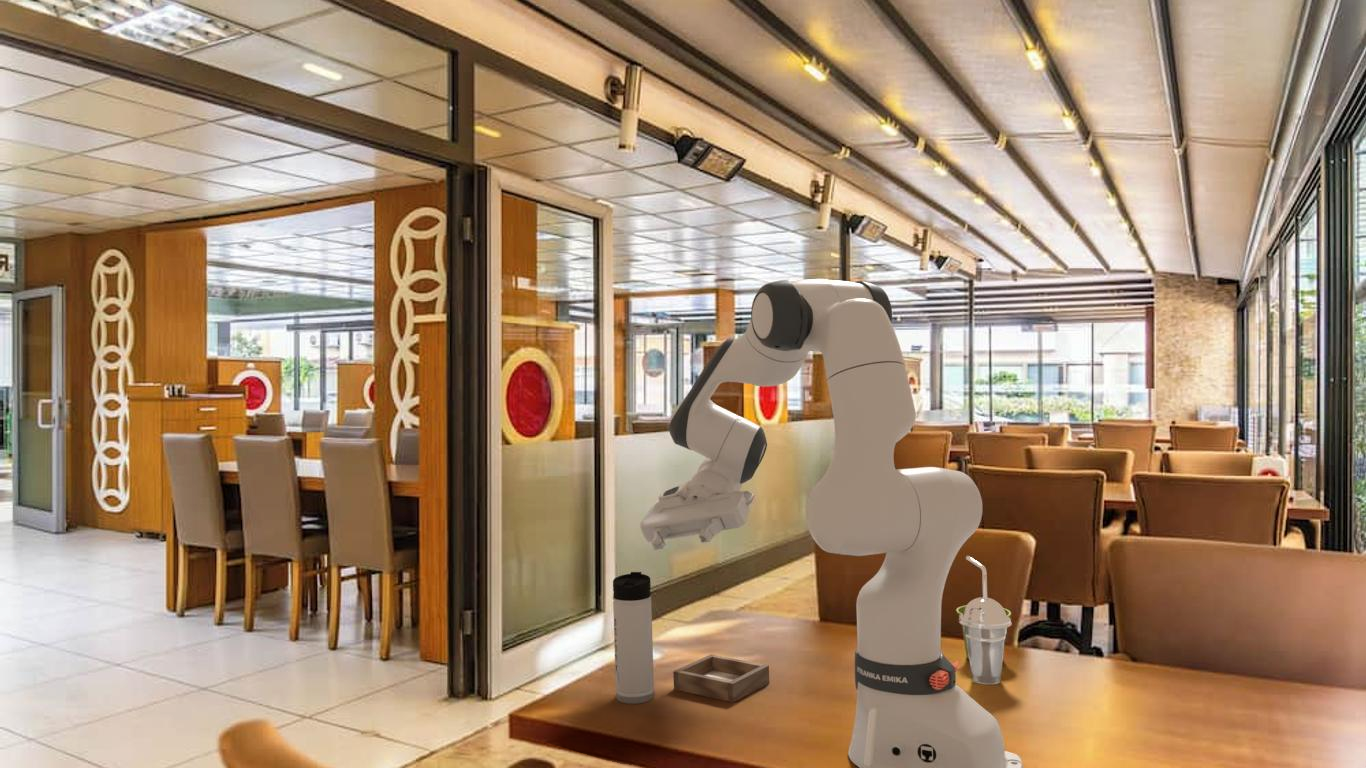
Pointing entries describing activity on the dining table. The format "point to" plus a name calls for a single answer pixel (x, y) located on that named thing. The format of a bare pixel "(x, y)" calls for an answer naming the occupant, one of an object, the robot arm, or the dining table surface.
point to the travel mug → (633, 638)
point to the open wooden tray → (721, 677)
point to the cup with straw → (985, 634)
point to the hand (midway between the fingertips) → (679, 542)
